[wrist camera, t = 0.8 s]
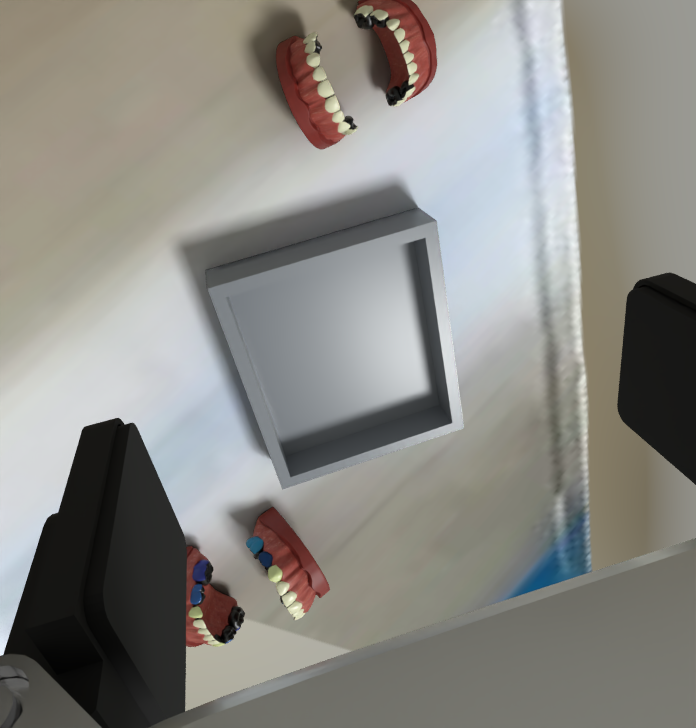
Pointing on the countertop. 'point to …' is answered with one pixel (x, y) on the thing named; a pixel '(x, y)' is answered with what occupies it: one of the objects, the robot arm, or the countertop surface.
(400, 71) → the denture
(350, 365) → the tray
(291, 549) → the teeth model
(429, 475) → the countertop surface
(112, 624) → the robot arm
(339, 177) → the countertop surface
